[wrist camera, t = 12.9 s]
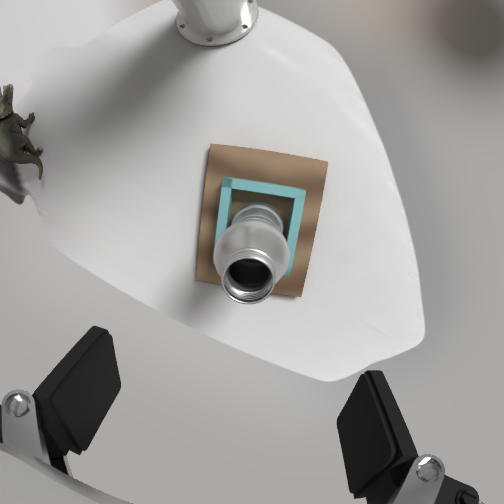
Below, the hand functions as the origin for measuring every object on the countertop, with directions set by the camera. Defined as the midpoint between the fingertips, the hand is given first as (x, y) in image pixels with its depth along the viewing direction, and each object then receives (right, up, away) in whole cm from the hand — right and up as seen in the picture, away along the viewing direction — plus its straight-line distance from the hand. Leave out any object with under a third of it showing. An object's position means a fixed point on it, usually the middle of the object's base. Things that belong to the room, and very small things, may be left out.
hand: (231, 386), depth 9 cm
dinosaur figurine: (-42, +27, +27) cm, 57 cm away
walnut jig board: (+2, +9, +30) cm, 32 cm away
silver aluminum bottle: (+2, +9, +29) cm, 30 cm away
